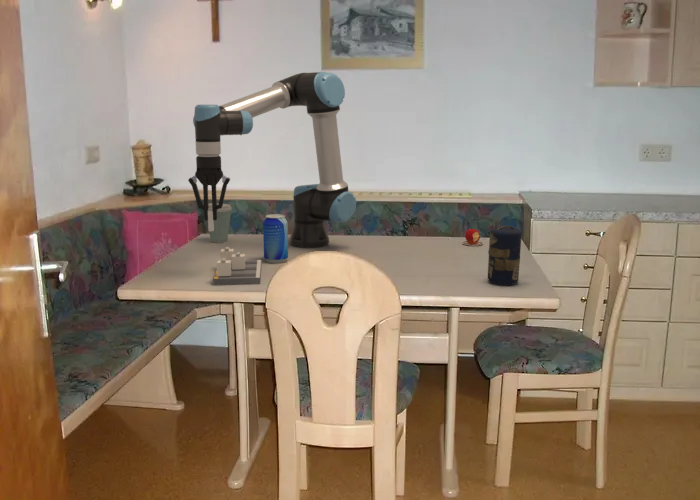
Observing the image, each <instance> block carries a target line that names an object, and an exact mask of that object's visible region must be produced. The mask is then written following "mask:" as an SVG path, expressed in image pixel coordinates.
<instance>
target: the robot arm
mask: <svg viewBox="0 0 700 500" xmlns="http://www.w3.org/2000/svg"><path fill="white" fill-rule="evenodd" d="M345 94H346V89H345V86H344V83H343V81H342V79H341V78H340V77H339V76H338V75H337V74H335V73H333V72H327V71H318V72H317V71H316V72H301V73H295V74H293V75H291V76H288V77H286V78H283V79H280V80H278V81H275V82H274V83H273V84H272V85H271V86H270V87H268V88H265V89H262V90H259V91H257V92H253V93H251V94H248V95H245V96H243V97H240V98H237V99H234V100H231V101H229V102H227V103H223V104H221V105H218V104H196V105H195V106H194V116H193V117H192V119H193V120H192V123H193V127H194V133H195V134H194V135H195V154H196V155H197V156H196V157H195V160H196V161H195V162H196V163H195V164H196V171H195V174H194V175H193V176H191V177H189V179H187V181H188V182H189V184H190V186H191V188H192V191H193V195H194V198H195V201H196V205H197V208H198V209H201V210H203V212H204V213H203V214H204V221H207V220H208V222H207V227H208V228H207V229H208V232H209V231H214V220H217V209H220V208H222V206H223V204H224V200H225V197H226V191H227V187H228V185H229V183H230V181H231V177H229V176H228V177H227V176H226V175H224V171H223V170H222V157H221V154H222V149H221V144H222V143H221V136H239V135H240V136H242V135H248V134H250V133H251V132H252V130H253V127H254V119H253V118H255V117H259V116H262V115H263V114H266V113H268V112H271V111H273V110H276V109H279V108H280V109H286V108H289V107H296V106H300V107H301V106H303V107H306V113H307V115H308V116H310V117H311V120H312V127H313V136H314V143H315V153H316V161H317V162H316V163H317V167H318V168H317V170H318V178H319V183H314V184H313V183H311V184H304V185H303V184H302V185H297V186H295V187H294V189H293V196H292V197H293V222H294V223H293V227H292V231H291V234H290V236H289V245H291V246H293V247H296V248H320V247H321V248H322V247H325V246H327V245H329V243H330V237H329V234H328V232H327V228H326V226H325V225H326V224H325V221H327V222H332V223H341V224H342V223H346V222H347V221H349V220H350V219H352V217H353V215H354V214H355V211H356V209H357V199H356V196H355V195H354V193H352V192H351V191H350V190H349V184H348V182H347V181H345V180H344V176H343V165H342V158H341V148H340V139H339V129H338V128H339V127H338V121H337V120H338V119H337V114H338V113H339V112H340V111H341V108H340V106H341V104H343V102H344V99H345V96H346V95H345ZM221 179H222V180H221ZM198 181H199V182H200V184H201V185H202V191H203V193H202V194H203V200H202V198H201V195H200V191H199V189H198V188H199V187H198V185H197V182H198ZM220 181H221V182H222V183H223V184H222V186H221V192H220V195H219V196H220V197H219V199H217V198H218V197H217V185H218V183H219V182H220ZM209 186H211V203H212V210H208V208H209V206H208V204H209ZM217 200H218V202H217ZM217 203H219V204H218V205H217Z"/></svg>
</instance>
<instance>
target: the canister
mask: <svg viewBox="0 0 700 500" xmlns="http://www.w3.org/2000/svg"><path fill="white" fill-rule="evenodd" d="M521 245H522V231H521V230H520V229H519V228H516V227H514V226H510V225H503V226H497V227H492V228H491V229H490V232H489V247H488V262H487V263H488V264H487V280H488V281H490V282H491V283H493V284H498V285H503V286H504V285H508V286H509V285H513V284H517V283H518V281H519V278H520V276H519V275H520V272H519V271H520V263H521V262H520V261H521V247H522V246H521Z"/></svg>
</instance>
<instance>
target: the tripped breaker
mask: <svg viewBox="0 0 700 500" xmlns="http://www.w3.org/2000/svg"><path fill="white" fill-rule="evenodd" d="M245 260H246V254H245V253H241V251H236V253H234V254H232V270H238V269H245Z"/></svg>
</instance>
